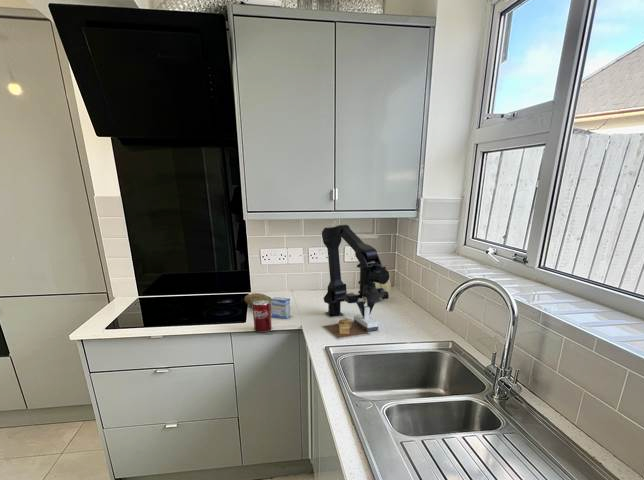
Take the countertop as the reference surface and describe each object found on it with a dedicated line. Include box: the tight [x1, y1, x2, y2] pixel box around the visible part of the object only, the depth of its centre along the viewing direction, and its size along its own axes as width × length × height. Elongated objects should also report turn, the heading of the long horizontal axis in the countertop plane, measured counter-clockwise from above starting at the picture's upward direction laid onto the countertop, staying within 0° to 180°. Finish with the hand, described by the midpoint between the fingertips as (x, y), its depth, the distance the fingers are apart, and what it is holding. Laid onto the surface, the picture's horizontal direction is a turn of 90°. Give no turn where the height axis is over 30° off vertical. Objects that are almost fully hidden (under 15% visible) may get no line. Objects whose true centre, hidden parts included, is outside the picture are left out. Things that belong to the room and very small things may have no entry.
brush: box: [353, 305, 379, 332], centre depth 172 cm, size 13×5×8 cm, turn 23°
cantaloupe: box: [374, 279, 392, 301], centre depth 211 cm, size 15×15×15 cm
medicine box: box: [271, 296, 291, 319], centre depth 187 cm, size 8×4×9 cm, turn 71°
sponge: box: [244, 292, 273, 309], centre depth 200 cm, size 13×8×20 cm
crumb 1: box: [337, 318, 353, 328], centre depth 173 cm, size 4×4×3 cm
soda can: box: [251, 301, 273, 333], centre depth 169 cm, size 7×7×12 cm
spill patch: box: [323, 321, 370, 339], centre depth 171 cm, size 16×14×1 cm
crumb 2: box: [339, 324, 349, 334], centre depth 167 cm, size 4×4×3 cm
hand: (365, 315), depth 172 cm, fingers closed on brush, 2 cm apart
